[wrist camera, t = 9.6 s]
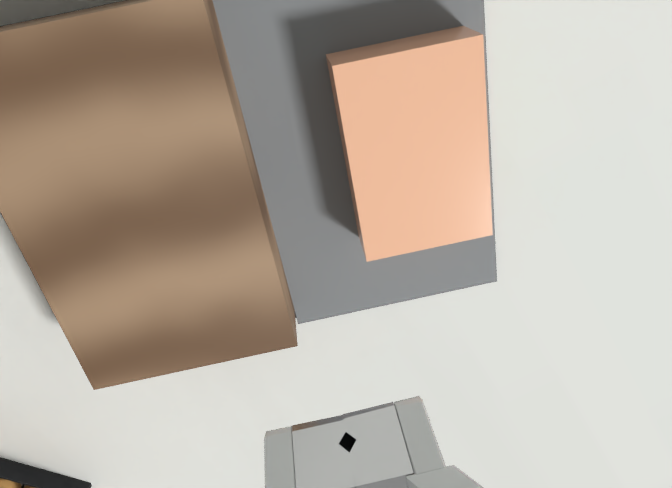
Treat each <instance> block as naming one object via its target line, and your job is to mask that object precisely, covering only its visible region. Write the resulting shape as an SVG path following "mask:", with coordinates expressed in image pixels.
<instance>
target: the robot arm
mask: <svg viewBox="0 0 672 488" xmlns="http://www.w3.org/2000/svg"><path fill="white" fill-rule="evenodd" d="M264 455H265V488H483V487H482V486H481V485H479V484H478V483H477V482H475V481H474V480H473V479H472V478H470V477H469V476H468V475H466V474H465V473H464V472H462V471H461V470H460V469H458V468H457V467H456V466H454V465H452V466H447V467H446V466H445V463H444V460H443V457H442V454H441V452H440V449H439V446H438V443H437V440H436V437H435V434H434V432H433V429H432V426H431V423H430V420H429V417H428V415H427V412H426V409H425V406H424V403H423V400H422V399H421V398H420V397H419V396H417V397H413V398H409V399H405V400H400V401H396V402H394V403H393V402H391V403H387V404H383V405H379V406H375V407H371V408H367V409H363V410H359V411H355V412H351V413H347V414H343V415H341V416H336V417H331V418H326V419H322V420H317V421H312V422H307V423H302V424H298V425H293V426H290V427H285V428H280V429H276V430H271V431H266V434H265V438H264Z"/></svg>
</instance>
